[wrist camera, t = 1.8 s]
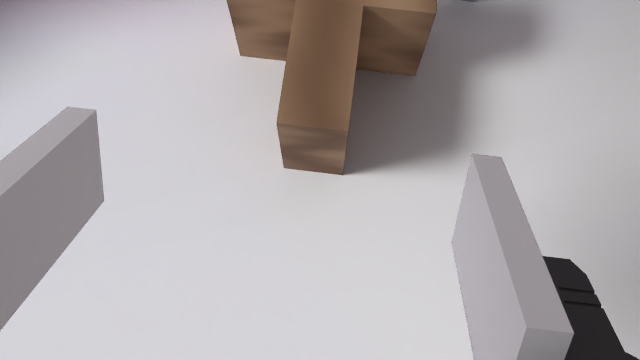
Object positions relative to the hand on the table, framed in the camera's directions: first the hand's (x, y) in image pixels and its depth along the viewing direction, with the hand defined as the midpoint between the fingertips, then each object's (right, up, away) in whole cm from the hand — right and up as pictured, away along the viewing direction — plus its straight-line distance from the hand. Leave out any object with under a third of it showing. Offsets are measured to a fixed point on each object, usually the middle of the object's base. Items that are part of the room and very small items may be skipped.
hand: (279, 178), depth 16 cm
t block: (+1, +6, +22) cm, 22 cm away
